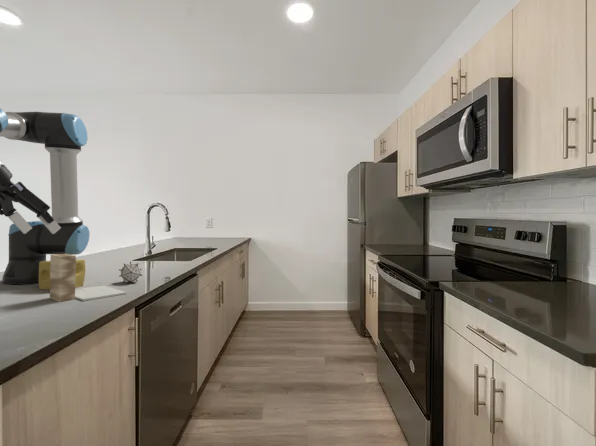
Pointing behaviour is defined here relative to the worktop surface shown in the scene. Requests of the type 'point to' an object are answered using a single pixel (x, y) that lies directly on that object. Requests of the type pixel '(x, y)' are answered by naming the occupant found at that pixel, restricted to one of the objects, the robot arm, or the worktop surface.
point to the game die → (130, 272)
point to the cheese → (45, 274)
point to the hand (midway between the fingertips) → (42, 231)
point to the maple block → (62, 277)
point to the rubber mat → (96, 293)
